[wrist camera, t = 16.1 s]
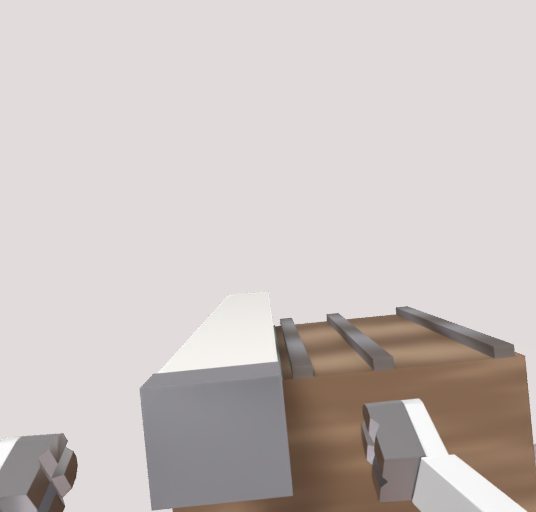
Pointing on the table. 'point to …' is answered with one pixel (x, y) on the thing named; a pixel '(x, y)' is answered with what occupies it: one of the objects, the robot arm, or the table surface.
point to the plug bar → (219, 412)
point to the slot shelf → (388, 389)
